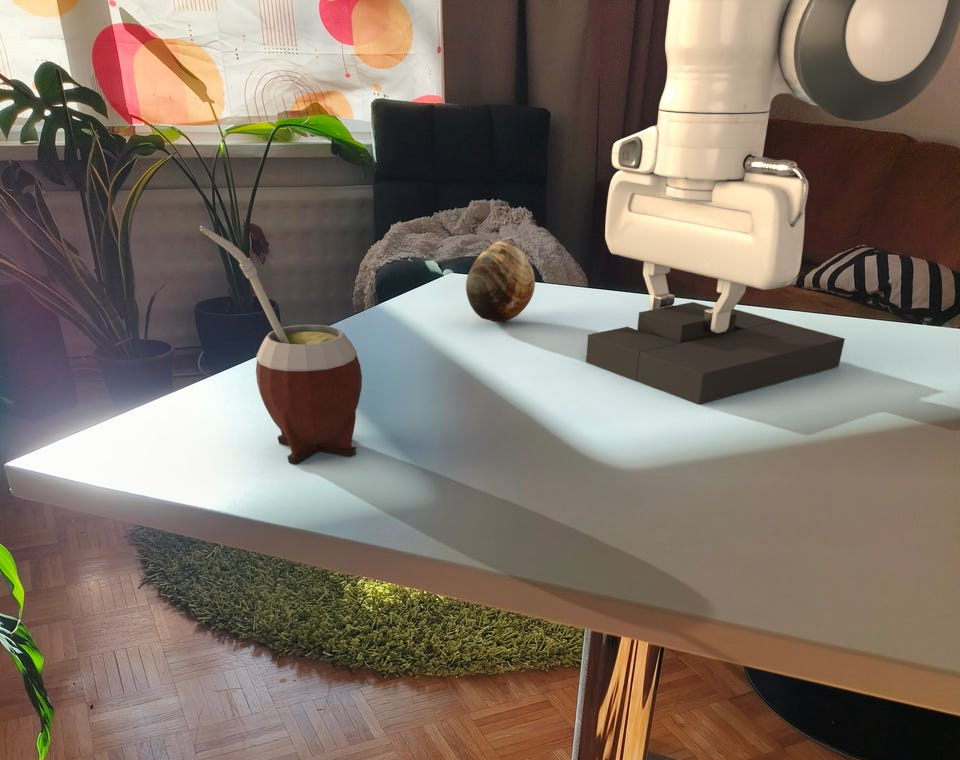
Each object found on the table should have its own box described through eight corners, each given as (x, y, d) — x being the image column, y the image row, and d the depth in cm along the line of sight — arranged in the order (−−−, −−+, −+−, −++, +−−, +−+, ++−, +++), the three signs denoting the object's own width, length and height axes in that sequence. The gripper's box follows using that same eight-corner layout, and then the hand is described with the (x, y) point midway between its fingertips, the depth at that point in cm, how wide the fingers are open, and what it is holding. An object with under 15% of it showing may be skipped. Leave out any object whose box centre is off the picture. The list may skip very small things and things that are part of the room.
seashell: (504, 308, 98) (505, 229, 93) (548, 316, 95) (551, 235, 90) (450, 326, 91) (449, 242, 87) (496, 336, 89) (497, 249, 84)
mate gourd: (383, 439, 65) (370, 215, 57) (325, 478, 59) (300, 235, 51) (298, 424, 68) (272, 207, 59) (234, 460, 62) (195, 225, 54)
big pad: (721, 332, 90) (725, 306, 88) (839, 366, 80) (845, 338, 79) (585, 362, 81) (587, 334, 80) (699, 404, 72) (703, 373, 70)
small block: (689, 328, 86) (692, 301, 85) (732, 341, 82) (737, 313, 81) (635, 339, 83) (638, 312, 81) (678, 353, 79) (682, 324, 78)
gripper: (838, 160, 68) (801, 343, 76) (650, 140, 82) (636, 296, 90) (784, 165, 65) (751, 355, 73) (599, 144, 79) (588, 305, 87)
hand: (686, 322), depth 82 cm, fingers closed on small block, 5 cm apart
